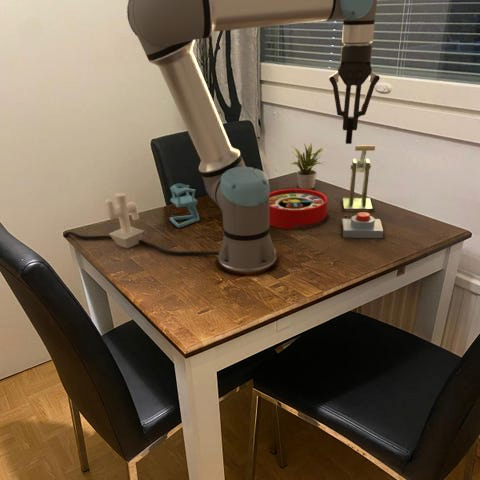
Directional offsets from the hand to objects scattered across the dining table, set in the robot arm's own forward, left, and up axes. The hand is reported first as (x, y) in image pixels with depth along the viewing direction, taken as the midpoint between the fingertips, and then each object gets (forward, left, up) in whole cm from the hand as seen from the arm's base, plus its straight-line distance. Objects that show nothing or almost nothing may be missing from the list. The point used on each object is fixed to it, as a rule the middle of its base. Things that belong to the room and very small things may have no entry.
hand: (348, 142), depth 135 cm
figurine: (-62, -16, -24) cm, 68 cm away
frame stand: (+5, +17, -24) cm, 30 cm away
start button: (+5, -4, -21) cm, 22 cm away
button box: (+5, -4, -24) cm, 25 cm away
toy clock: (-15, +7, -24) cm, 29 cm away
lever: (+5, +12, -9) cm, 16 cm away
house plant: (-11, +33, -24) cm, 42 cm away
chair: (-49, +2, -24) cm, 54 cm away
